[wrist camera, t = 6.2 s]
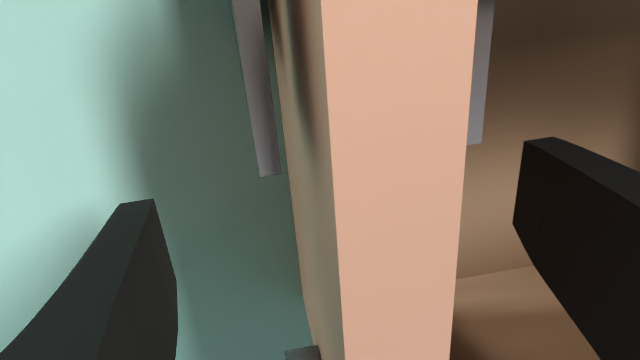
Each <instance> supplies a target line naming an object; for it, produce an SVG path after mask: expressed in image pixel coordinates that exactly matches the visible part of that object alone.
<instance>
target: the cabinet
mask: <svg viewBox="0 0 640 360" xmlns="http://www.w3.org/2000/svg"><path fill="white" fill-rule="evenodd" d="M230 3H231V9H232V16H233V22H234V29H235V35H236V42H237V47H238V53H239V59H240V65H241V71H242V76H243V79H244V85H245V92H246V99H247V105H248V111H249V117H250V123H251V129H252V135H253V140H254V146H255V152H256V158H257V164H258V169H259V175H260V177H265V176H271V175H278V174H281V167H280V159H279V151H278V143H277V135H276V127H275V119H274V111H273V103H272V95H271V87H270V79H269V71H268V63H267V55H266V47H265V39H264V31H263V23H262V15H261V7H260V0H230ZM546 137H556V138H559V139H562V140H565V141H568V142H571V143H573V144H576V145H578V146H580V147H583V148H585V149H588V150H590V151H592V152H595V153H597V154H599V155H602V156H604V157H606V158H608V159H611V160H613V161H615V162H618V163H620V164H622V165H624V166H627V167H629V168H631V169H634V170H636V171H638V172H640V0H478V5H477V18H476V30H475V43H474V55H473V68H472V80H471V93H470V106H469V118H468V131H467V143H466V156H465V168H464V181H463V194H462V206H461V219H460V231H459V244H458V257H457V269H456V282H455V294H454V307H453V319H452V332H451V345H450V357H449V360H600V358H599V357H598V355H597V354H596V352H595V351H594V350H593V348H592V347H591V345H590V344H589V343H588V341H587V340H586V338H585V337H584V336H583V334H582V333H581V331H580V330H579V329H578V327H577V326H576V325H575V323H574V322H573V320H572V319H571V318H570V316H569V315H568V313H567V312H566V311H565V309H564V308H563V306H562V305H561V304H560V302H559V301H558V300H557V298H556V297H555V295H554V294H553V292H552V291H551V290H550V288H549V287H548V285H547V284H546V283H545V281H544V280H543V278H542V277H541V275H540V274H539V272H538V271H537V270H536V268H535V267H534V265H533V263H532V262H531V260H530V258H529V256H528V254H527V252H526V250H525V249H524V247H523V245H522V243H521V241H520V239H519V236H518V234H517V232H516V230H515V228H514V226H513V224H512V221H513V214H514V207H515V200H516V193H517V186H518V179H519V172H520V164H521V157H522V150H523V143H524V141H527V140H533V139H540V138H546Z"/></svg>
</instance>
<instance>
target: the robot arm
mask: <svg viewBox="0 0 640 360" xmlns="http://www.w3.org/2000/svg"><path fill="white" fill-rule="evenodd" d="M512 224H513V226H514V228H515V230H516V232H517V234H518V236H519V239H520V241H521V243H522V245H523V247H524V249H525V250H526V252H527V254H528V256H529V258H530V260H531V262H532V263H533V265H534V267H535V268H536V270H537V271H538V272H539V274H540V275H541V277H542V278H543V280H544V281H545V283H546V284H547V285H548V287H549V288H550V290H551V291H552V292H553V294H554V295H555V297H556V298H557V300H558V301H559V302H560V304H561V305H562V306H563V308H564V309H565V311H566V312H567V313H568V315H569V316H570V318H571V319H572V320H573V322H574V323H575V325H576V326H577V327H578V329H579V330H580V331H581V333H582V334H583V336H584V337H585V338H586V340H587V341H588V343H589V344H590V345H591V347H592V348H593V350H594V351H595V352H596V354H597V355H598V357H599V358H600V360H640V172H638V171H636V170H634V169H631V168H629V167H627V166H624V165H622V164H620V163H618V162H615V161H613V160H611V159H608V158H606V157H604V156H602V155H599V154H597V153H595V152H592V151H590V150H588V149H585V148H583V147H580V146H578V145H576V144H573V143H571V142H568V141H565V140H562V139H559V138H556V137H546V138H540V139H533V140H527V141H524V143H523V150H522V157H521V164H520V172H519V179H518V186H517V193H516V200H515V207H514V214H513V221H512ZM177 334H178V309H177V284H176V278H175V274H174V271H173V267H172V263H171V260H170V256H169V252H168V249H167V245H166V242H165V238H164V234H163V231H162V227H161V223H160V220H159V216H158V213H157V209H156V205H155V202H154V199H147V200H141V201H134V202H128V203H122V204H119V206H118V207H117V208H116V210H115V211H114V212H113V214H112V215H111V216H110V218H109V219H108V221H107V222H106V224H105V225H104V227H103V228H102V229H101V231H100V232H99V234H98V235H97V237H96V238H95V239H94V241H93V242H92V244H91V245H90V247H89V248H88V249H87V251H86V252H85V254H84V255H83V256H82V258H81V259H80V260H79V262H78V263H77V264H76V266H75V267H74V268H73V270H72V271H71V272H70V274H69V275H68V276H67V278H66V279H65V280H64V282H63V283H62V284H61V286H60V287H59V288H58V289H57V291H56V292H55V293H54V294H53V295H52V297H51V298H50V299H49V300H48V301H47V303H46V304H45V305H44V306H43V307H42V309H41V310H40V311H39V312H38V313H37V315H36V316H35V317H34V318H33V319H32V321H31V322H30V323H29V324H28V325H27V326H26V327H25V328H24V329H23V330H22V331H21V333H20V334H19V335H18V336H17V337H16V338H15V339H14V340H13V341H12V342H11V343H10V344H9V345H8V346H7V347H6V348H5V349H4V350H3V351H2V352H1V353H0V360H175V357H176V346H177Z"/></svg>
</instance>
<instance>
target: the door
mask: <svg viewBox="0 0 640 360" xmlns="http://www.w3.org/2000/svg"><path fill="white" fill-rule="evenodd" d="M268 4H269V12H270V21H271V29H272V38H273V46H274V55H275V63H276V72H277V80H278V89H279V97H280V106H281V114H282V123H283V131H284V140H285V149H286V157H287V166H288V174H289V183H290V191H291V200H292V208H293V217H294V225H295V234H296V242H297V251H298V259H299V268H300V276H301V285H302V293H303V301H304V305H305V310H306V314H307V319H308V323H309V328H310V332H311V337H312V341H313V346H309V347H304V348H299V349H293V350H288V351H285V358H286V360H449V357H450V345H451V332H452V319H453V307H454V294H455V282H456V269H457V257H458V244H459V231H460V219H461V206H462V194H463V181H464V168H465V156H466V143H467V131H468V118H469V106H470V93H471V80H472V68H473V55H474V43H475V30H476V18H477V5H478V0H268Z"/></svg>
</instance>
